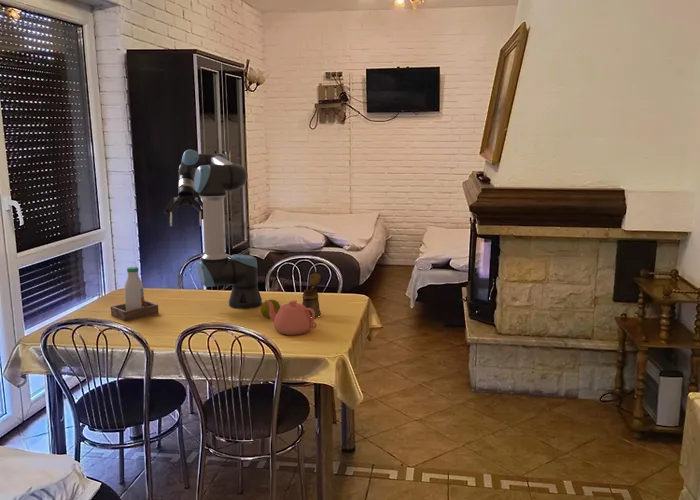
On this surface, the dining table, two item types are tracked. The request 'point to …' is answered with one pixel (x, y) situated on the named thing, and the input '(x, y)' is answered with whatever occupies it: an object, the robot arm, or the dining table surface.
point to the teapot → (292, 318)
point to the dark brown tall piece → (312, 294)
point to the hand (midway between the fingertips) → (185, 224)
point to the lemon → (265, 308)
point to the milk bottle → (133, 290)
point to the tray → (134, 311)
